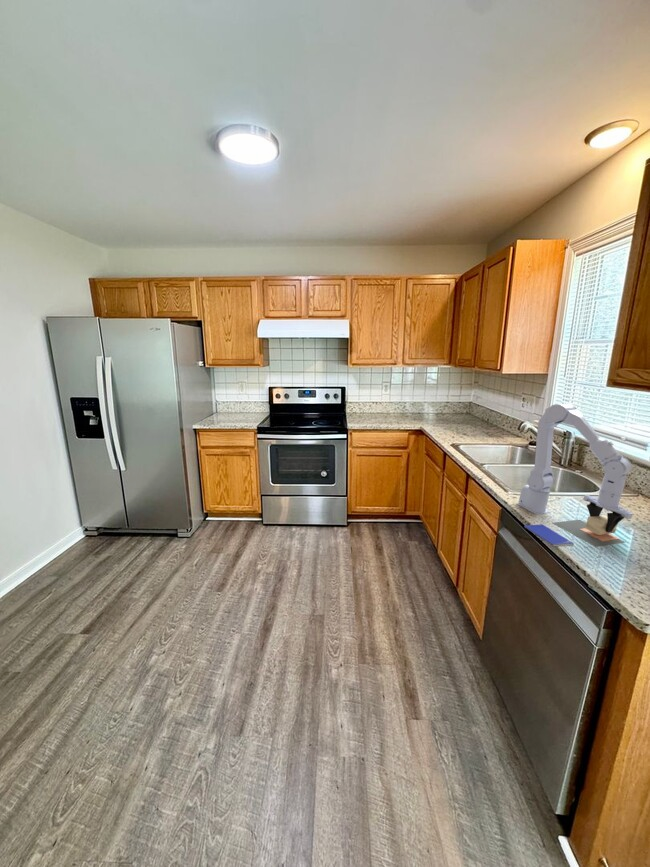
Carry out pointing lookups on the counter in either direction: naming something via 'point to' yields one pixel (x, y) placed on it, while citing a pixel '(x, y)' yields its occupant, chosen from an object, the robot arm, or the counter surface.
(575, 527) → the rubber mat
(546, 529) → the hard drive
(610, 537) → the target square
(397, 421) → the counter surface
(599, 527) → the maple block
